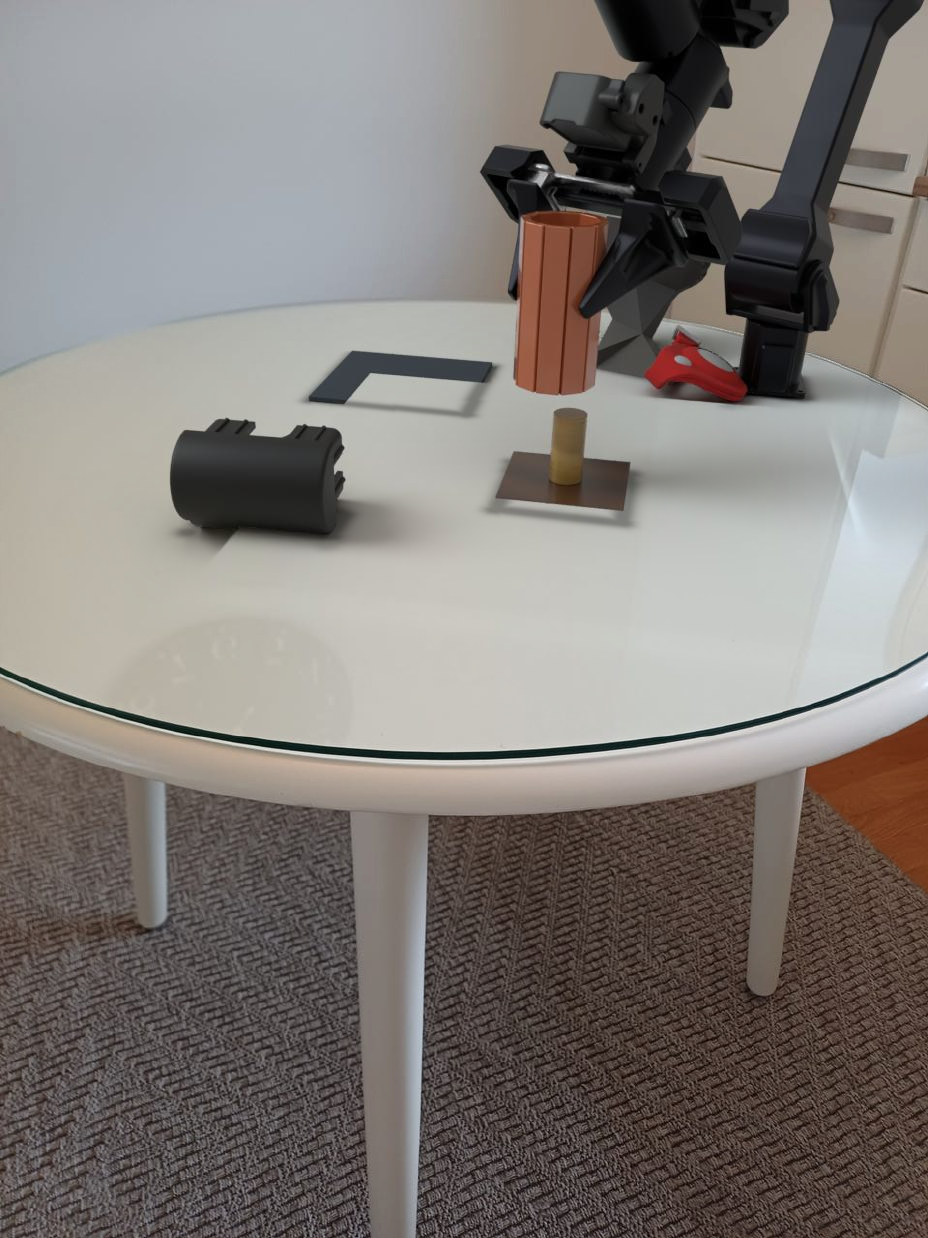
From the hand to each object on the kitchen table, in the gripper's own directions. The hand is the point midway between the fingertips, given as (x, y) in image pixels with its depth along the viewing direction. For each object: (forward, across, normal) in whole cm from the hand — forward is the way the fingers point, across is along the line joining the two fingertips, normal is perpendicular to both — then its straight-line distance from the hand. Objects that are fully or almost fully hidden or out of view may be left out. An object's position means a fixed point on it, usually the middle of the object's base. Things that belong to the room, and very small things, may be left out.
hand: (546, 305), depth 73 cm
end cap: (+22, -9, -3) cm, 24 cm away
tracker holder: (-11, -5, +30) cm, 32 cm away
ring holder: (+8, +2, +10) cm, 14 cm away
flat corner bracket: (+2, -24, +17) cm, 29 cm away
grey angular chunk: (-15, -15, +34) cm, 40 cm away
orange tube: (+3, 0, +5) cm, 6 cm away
